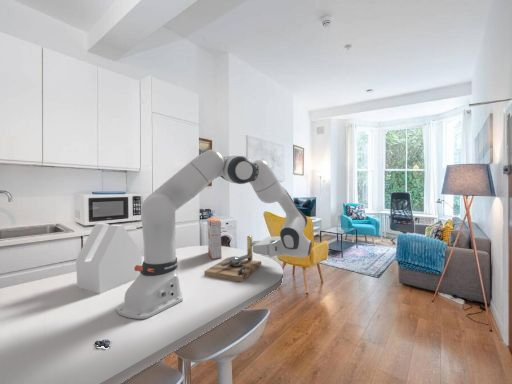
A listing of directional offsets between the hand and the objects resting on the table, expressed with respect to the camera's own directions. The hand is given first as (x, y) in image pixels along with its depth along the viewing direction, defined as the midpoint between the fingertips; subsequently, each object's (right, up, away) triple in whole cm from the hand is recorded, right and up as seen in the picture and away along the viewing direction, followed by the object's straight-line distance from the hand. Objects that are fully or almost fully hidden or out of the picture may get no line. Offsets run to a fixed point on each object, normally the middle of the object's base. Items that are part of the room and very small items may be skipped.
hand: (252, 243), depth 131 cm
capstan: (-7, -9, -6) cm, 13 cm away
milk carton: (-61, -13, -20) cm, 65 cm away
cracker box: (-22, -11, +17) cm, 30 cm away
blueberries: (-39, -15, -63) cm, 76 cm away
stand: (-9, -12, -7) cm, 16 cm away
